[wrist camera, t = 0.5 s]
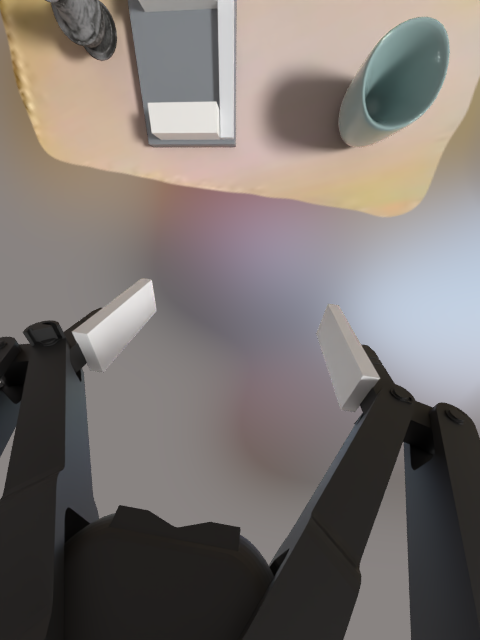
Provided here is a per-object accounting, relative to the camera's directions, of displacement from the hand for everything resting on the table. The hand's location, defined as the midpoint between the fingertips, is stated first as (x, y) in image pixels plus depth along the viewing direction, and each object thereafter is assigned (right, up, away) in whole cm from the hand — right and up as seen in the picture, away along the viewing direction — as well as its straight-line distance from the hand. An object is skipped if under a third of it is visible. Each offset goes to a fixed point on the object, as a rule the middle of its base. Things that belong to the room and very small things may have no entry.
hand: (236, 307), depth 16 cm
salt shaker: (-19, +37, +12) cm, 43 cm away
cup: (+17, +27, +13) cm, 35 cm away
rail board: (-7, +33, +12) cm, 36 cm away
